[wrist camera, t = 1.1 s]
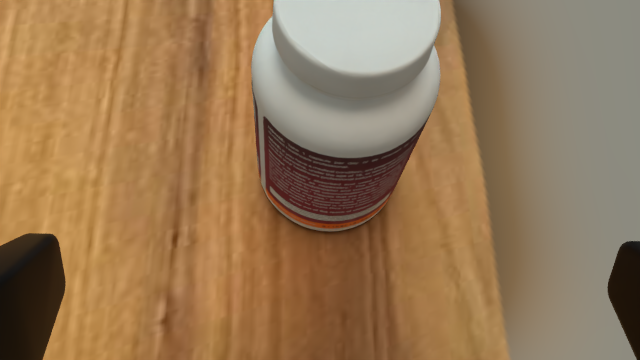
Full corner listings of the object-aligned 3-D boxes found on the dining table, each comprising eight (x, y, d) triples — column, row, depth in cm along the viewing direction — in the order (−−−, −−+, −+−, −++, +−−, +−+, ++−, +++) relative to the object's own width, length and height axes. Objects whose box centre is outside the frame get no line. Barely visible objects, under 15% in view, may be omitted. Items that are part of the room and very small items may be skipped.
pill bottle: (420, 197, 25) (515, 49, 15) (298, 260, 24) (314, 140, 14) (351, 90, 27) (395, -104, 17) (234, 142, 26) (207, -39, 16)
